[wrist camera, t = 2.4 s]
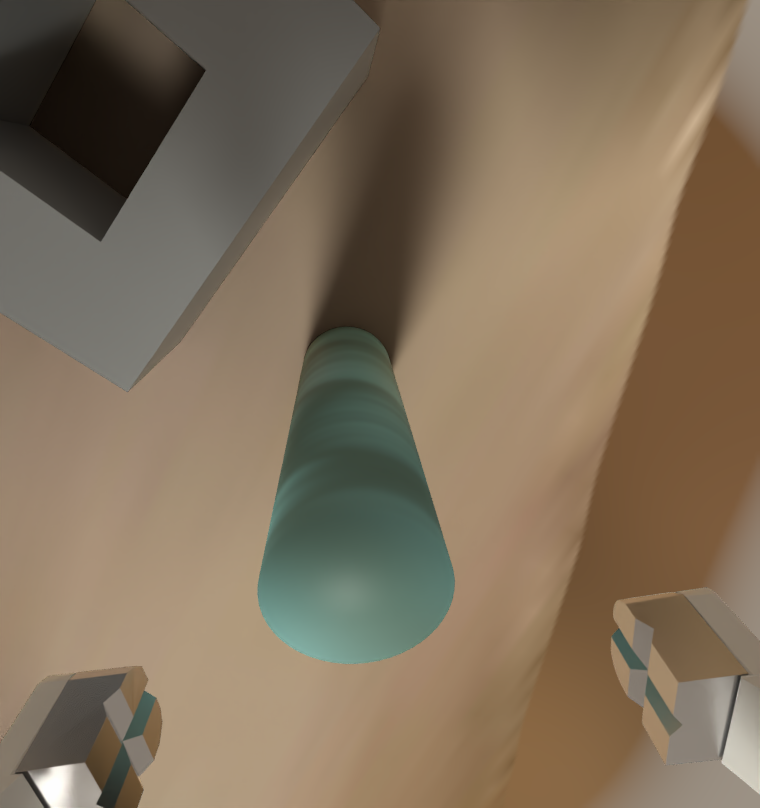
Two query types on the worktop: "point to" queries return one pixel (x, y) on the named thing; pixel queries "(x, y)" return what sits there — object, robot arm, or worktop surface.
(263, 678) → the worktop surface
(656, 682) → the robot arm
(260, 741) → the worktop surface
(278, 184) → the socket block
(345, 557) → the teal peg
